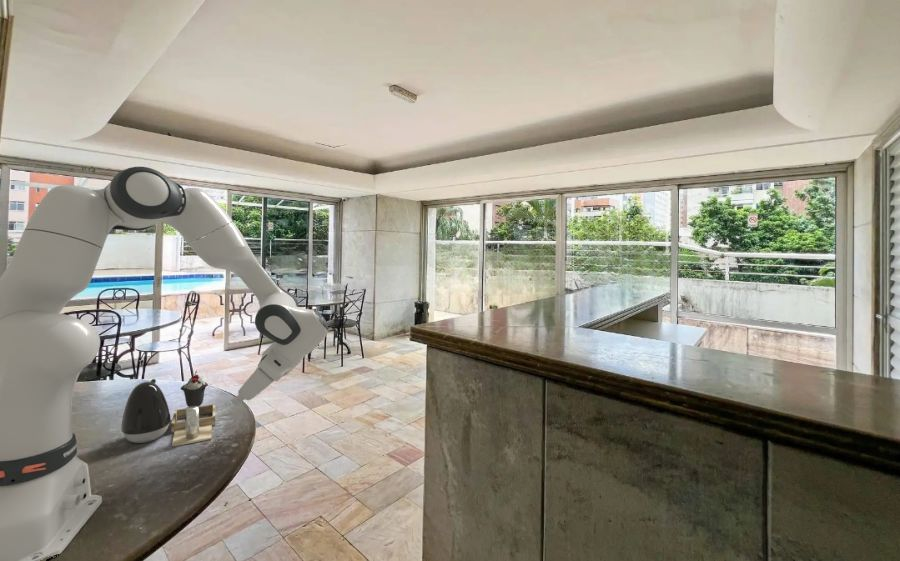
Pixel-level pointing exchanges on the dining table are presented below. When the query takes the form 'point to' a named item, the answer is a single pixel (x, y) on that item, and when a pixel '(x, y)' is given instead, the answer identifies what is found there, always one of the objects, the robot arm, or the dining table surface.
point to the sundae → (194, 391)
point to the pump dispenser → (145, 413)
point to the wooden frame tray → (192, 425)
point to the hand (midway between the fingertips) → (240, 396)
